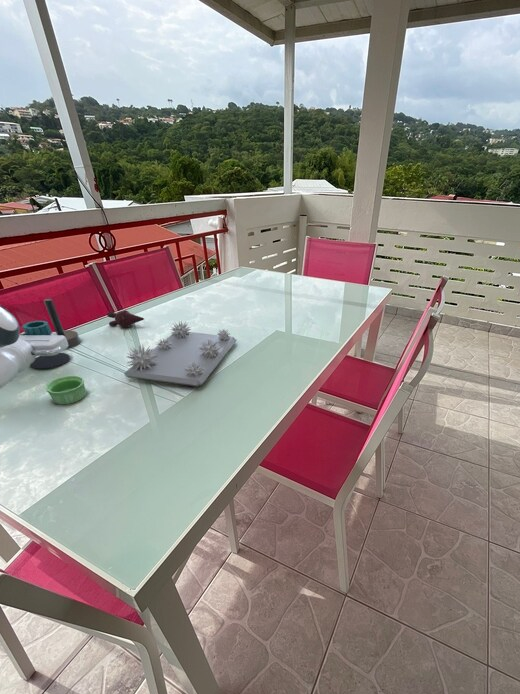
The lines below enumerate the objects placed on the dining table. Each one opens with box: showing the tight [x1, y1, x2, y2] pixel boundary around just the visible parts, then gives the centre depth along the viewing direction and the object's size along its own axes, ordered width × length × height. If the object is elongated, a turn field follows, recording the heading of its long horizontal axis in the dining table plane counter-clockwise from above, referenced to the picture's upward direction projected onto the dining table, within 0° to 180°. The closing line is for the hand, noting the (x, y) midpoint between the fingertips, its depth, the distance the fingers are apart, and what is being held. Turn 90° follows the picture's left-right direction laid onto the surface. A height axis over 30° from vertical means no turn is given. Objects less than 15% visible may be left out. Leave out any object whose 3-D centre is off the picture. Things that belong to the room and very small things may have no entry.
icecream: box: [106, 309, 145, 328], centre depth 133 cm, size 7×7×15 cm
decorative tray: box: [123, 320, 237, 388], centre depth 111 cm, size 35×26×10 cm
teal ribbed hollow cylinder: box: [22, 320, 52, 335], centre depth 103 cm, size 6×6×8 cm
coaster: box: [29, 352, 71, 371], centre depth 108 cm, size 11×11×1 cm
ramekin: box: [45, 375, 87, 405], centre depth 92 cm, size 9×9×4 cm
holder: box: [43, 298, 81, 350], centre depth 115 cm, size 10×10×16 cm
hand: (41, 334), depth 104 cm, fingers closed on teal ribbed hollow cylinder, 6 cm apart
